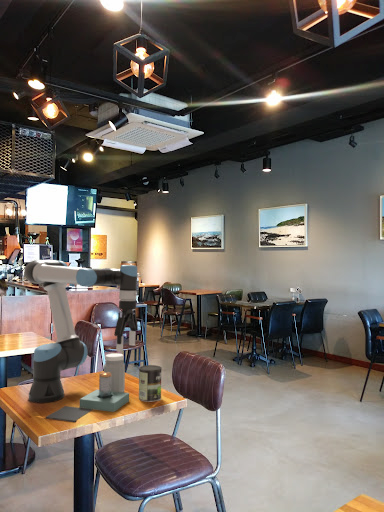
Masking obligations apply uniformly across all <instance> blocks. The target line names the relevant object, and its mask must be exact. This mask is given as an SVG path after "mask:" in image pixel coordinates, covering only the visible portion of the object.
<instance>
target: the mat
mask: <svg viewBox="0 0 384 512" xmlns="http://www.w3.org/2000/svg"><path fill="white" fill-rule="evenodd" d="M92 411H94V409H86V408H80V407H76V406H67V405H64V406H63V407H61V408H59V409H57V410H55V411H53V412H52V413H50V414H48V415H47V416H45V419H48V420H56V421H61V422H63V421H64V422H69V423H70V422H71V423H76V422H77V421H78V420H79V419H81V418H82V417H84V416H85V415H87V414H89V413H90V412H92Z"/></svg>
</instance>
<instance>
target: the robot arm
mask: <svg viewBox="0 0 384 512" xmlns="http://www.w3.org/2000/svg"><path fill="white" fill-rule="evenodd" d="M23 272H24V273H23V274H24V277H25V278H26V279H27V281H28V282H29V283H31V284H38V285H41V284H42V287H43V290H44V291H46V292H47V296H48V300H49V305H50V310H51V313H52V315H51V316H52V320H53V325H54V329H55V335H56V338H57V339H56V340H55V342H51V343H45V344H41V345H39V346H36V348H35V349H34V351H33V358H32V359H33V367H32V369H33V370H32V371H33V373H32V374H33V375H32V377H33V378H32V383H31V386H30V389H29V392H28V400H29V402H31V403H40V404H43V403H44V404H45V403H50V402H51V403H52V402H56V401H59V400H61V399H63V398H64V397H65V390H64V387H63V383H62V379H61V372H62V371H65V370H69V369H74V368H77V367H79V366H82V365H83V364H84V363H85V362H86V360H87V357H88V353H89V351H88V347H87V345H86V344H85V342H83V341H81V339H80V336H78V335H77V334H76V330H75V327H74V322H73V318H72V317H73V316H72V313H71V308H70V304H69V299H68V293H67V289H66V287H67V286H68V285H78V286H80V287H85V288H87V287H88V288H89V287H97V286H98V287H100V286H101V287H102V286H118V287H119V292H118V293H119V295H118V299H119V300H118V309H119V310H121V312H120V311H119V312H118V313H117V314H118V315H117V320H116V321H117V322H116V325H115V328H114V329H115V330H114V333H113V335H114V337H116V346H115V347H116V348H115V349H116V352H117V353H119V352H120V353H123V352H124V335H123V334H124V332H125V328H126V326H127V324H128V326H129V333H128V335H129V336H128V346H136V332H138V330H139V326H138V319H137V310H136V309H137V296H138V292H137V291H138V290H137V287H138V286H137V285H138V276H139V275H138V266H137V265H135V264H134V265H132V264H121V265H120V268H109V267H105V268H88V267H75V266H69V265H68V263H67V262H64V261H62V260H57V259H51V260H50V259H34V260H32V261H29V263H27V264H26V266H25V268H24V271H23Z"/></svg>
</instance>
